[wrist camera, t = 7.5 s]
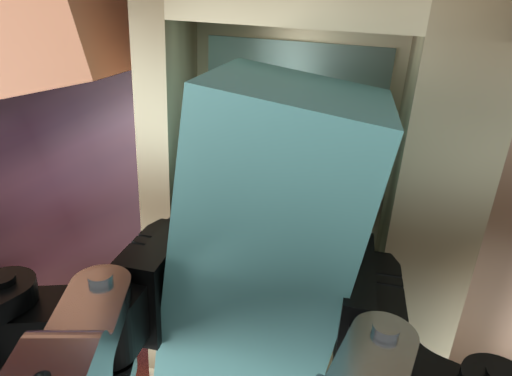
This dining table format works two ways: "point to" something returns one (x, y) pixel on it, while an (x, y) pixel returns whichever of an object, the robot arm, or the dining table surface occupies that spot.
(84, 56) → the block
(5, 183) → the dining table surface
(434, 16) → the slot rack
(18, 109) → the dining table surface
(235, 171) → the batten teal
